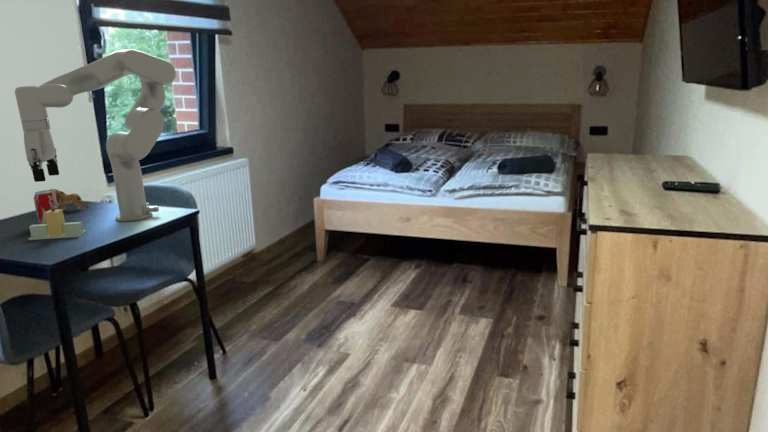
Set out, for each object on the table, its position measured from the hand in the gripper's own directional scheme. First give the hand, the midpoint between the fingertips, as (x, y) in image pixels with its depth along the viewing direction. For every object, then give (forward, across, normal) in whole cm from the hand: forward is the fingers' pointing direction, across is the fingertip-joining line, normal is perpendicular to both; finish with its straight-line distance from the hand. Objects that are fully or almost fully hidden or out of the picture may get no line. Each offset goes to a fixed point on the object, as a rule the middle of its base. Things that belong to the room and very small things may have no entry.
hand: (47, 178), depth 184 cm
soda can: (+20, -17, -10) cm, 28 cm away
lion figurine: (+20, -37, -12) cm, 44 cm away
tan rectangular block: (+19, 0, 0) cm, 19 cm away
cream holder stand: (+20, 0, 0) cm, 20 cm away
